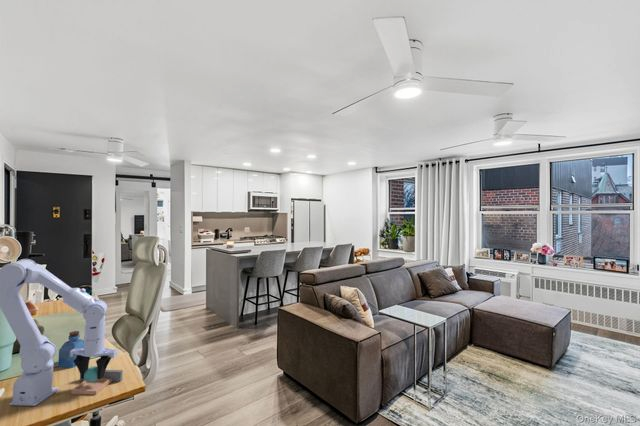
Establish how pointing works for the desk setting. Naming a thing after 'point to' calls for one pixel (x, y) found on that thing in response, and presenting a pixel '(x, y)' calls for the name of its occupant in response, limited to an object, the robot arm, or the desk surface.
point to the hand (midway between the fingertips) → (92, 377)
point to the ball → (91, 374)
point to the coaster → (91, 386)
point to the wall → (112, 375)
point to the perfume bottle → (67, 347)
